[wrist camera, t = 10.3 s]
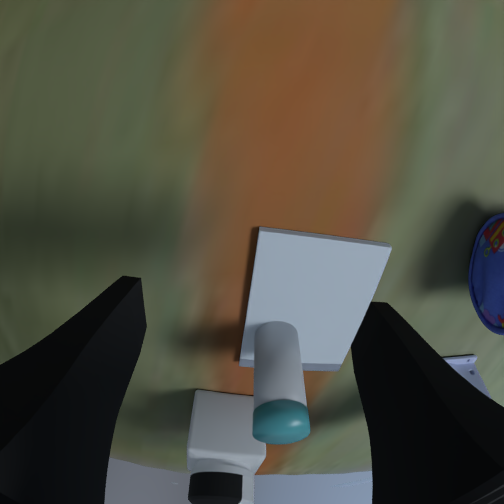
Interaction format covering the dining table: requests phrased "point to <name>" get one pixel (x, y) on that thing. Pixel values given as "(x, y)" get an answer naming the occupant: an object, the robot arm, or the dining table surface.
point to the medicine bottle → (222, 449)
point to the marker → (278, 386)
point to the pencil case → (489, 274)
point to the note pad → (312, 291)
